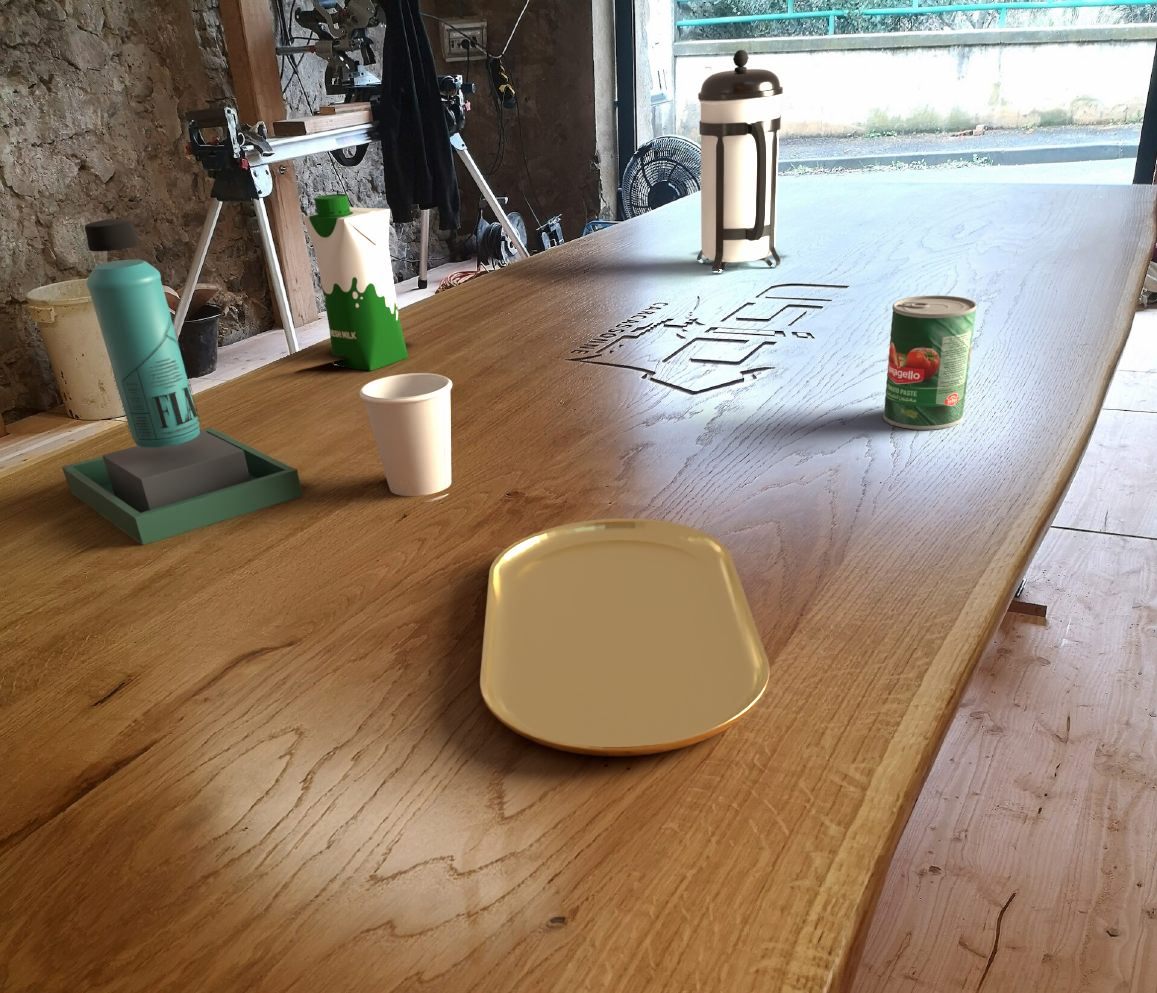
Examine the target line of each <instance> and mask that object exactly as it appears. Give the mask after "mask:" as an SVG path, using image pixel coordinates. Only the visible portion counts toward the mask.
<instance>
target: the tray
mask: <svg viewBox="0 0 1157 993" xmlns="http://www.w3.org/2000/svg"><path fill="white" fill-rule="evenodd" d="M202 430H203V431H205V432H207V433H209V434H211V435H213V436H215V437H217V438H219V439H221V440H223V441H225V442H227V443H229V444H231V445H233V446H235V447H237V448H239V449H241V450H243V451H244V455H245V460H246V464H247V468H248V472H249V476H250V481H247V482H244V483H241V484H237V485H234V486H230V487H227V488H224V489H220V490H217V491H214V492H210V493H207V494H203V495H200V496H197V497H193V498H190V499H186V500H183V501H180V502H176V503H173V504H169V505H166V506H163V507H159V508H156V509H152V510H149V511H146V512H142V513H140V512H139V511H137V510H136V509H134V508H133V507H131V506H130V505H129V504H127V503H126V502H124V501H123V500H121V499H120V498H118V497H117V496H115V495H114V491H113V488H112V485H111V482H110V479H109V475H108V472H107V469H106V466H105V462H104V459H103V456H102V455H101V456H98V457H94V458H90V459H87V460H83V461H79V462H75V463H71V464H68V465H64V466H61V469H62V472H63V475H64V479H65V480H66V484H67V488H68V489H69V491H70V493H71V494H72V495H73V496H75V497H76V498H78V499H79V500H81V501H82V502H83V503H84V504H86V505H87V506H88V507H90V508H92V509H93V510H94V511H96V513H98V514H99V515H101V516H103V517H104V518H105V519H107V520H108V521H109V522H111V523H112V524H113V525H114V526H116V527H117V528H119V529H120V530H122V532H124V533H126V535H128V536H129V537H131V538H132V539H134V540H135V541H136V542H138V543H139V544H141V545H142V546H145V545H149V544H153V543H156V542H159V541H162V540H165V539H169V538H171V537H175V536H179V535H181V534H184V533H188V532H191V531H195V530H197V529H201V528H204V527H207V526H211V525H214V524H216V523H220V522H223V521H226V520H227V521H228V520H230V519H233V518H236V517H239V516H243V515H246V514H249V513H252V512H257V511H259V510H262V509H267V508H270V507H272V506H275V505H279V504H282V503H285V502H288V501H292V500H294V499H298V498H301V497H303V491H302V487H301V482H300V478H299V473H298V472H299V471H298V470H297V469H296V468H294V467H292V466H290V465H288V464H286V463H284V462H282V461H279V460H277V459H275V458H274V457H272V456H270V455H268V454H265V453H264V452H261V451H259V450H257V449H255V448H253V447H251V446H249V445H247V444H245V443H243V442H242V441H239V440H237V439H235V438H233V437H231V436H229V435H227V434H225V433H222V432H221V431H219V430H217V429H215V428H213V427H207V428H204V429H202Z"/></svg>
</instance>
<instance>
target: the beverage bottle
mask: <svg viewBox="0 0 1157 993" xmlns="http://www.w3.org/2000/svg"><path fill="white" fill-rule="evenodd" d="M84 232H85V236H86V241H87V248H88V251H90V252H112V251H120V250H125V249H130V248H134V247H137V246H139V245H140V242H139V238H138V236H137V234H136V230H135V227H134V224H133V222H132V220H131V219H129V218H107V219H100V220H97V221H93V222H88V223H86V224H85V225H84ZM161 278H162V276H161V273H160V271H159V270H158V269H157V268H155V267H154V266H153V265H151V264H150V263H149V262H147V261H145V260H144V259H121V260H114V261H107V262H103V263H100V264H97V265H95V266H94V268H93V269H92V270H91V272H90V274H89V275H88V277H87V279H86V282H85V285H86V287H87V289H88V292H89V295H90V299H91V302H92V305H93V308H94V312H95V315H96V318H97V322H98V325H99V328H100V332H101V335H102V339H103V341H104V345H105V348H106V352H107V356H108V358H109V362H110V369H111V370H110V372H111V374H112V373H113V378H114V379H113V383H114V385H115V389H116V392H118V396H119V397H118V399H119V402H121V404H122V405H121V408H122V412H124V413H123V416H124V419H126V422H125V423H126V425H127V431H129V432H128V433H129V435H131V438H132V440H133V441H134V443H135V445H136V446H141V447H149V448H155V447H166V446H172V445H177V444H181V443H184V442H187V441H190V440H192V439H194V438H196V437H197V436H198V435H199V434H200V429H201V425H202V423H201V421H200V416H199V413H198V407H197V404H196V402H195V401H196V400H195V398H194V396H193V394H194V392H193V388H192V385H191V381H190V380H188V371H187V366H186V364H185V361H184V360H183V357H182V353H181V351H182V348H180V342H179V340H178V339H179V336H178V333H177V330H176V329H175V326H176V323H175V319H174V316H173V314H172V311H170V307H169V303H168V299H167V298H166V294H165V290H164V287H163V283H162V279H161Z"/></svg>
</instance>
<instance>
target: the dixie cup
mask: <svg viewBox="0 0 1157 993" xmlns="http://www.w3.org/2000/svg"><path fill="white" fill-rule="evenodd" d="M452 387H453V382H452V380H451V379H450V378H448V377H446V376H444V375H441V374H438V373H428V372H413V373H401V374H395V375H389V376H384V377H381V378H378V379H375V380H372V381H369V382H368V383H366V384H364V385H363V386H362V387H361V389H360V390H359V394H358V395H359V397H360V398H361V399H362V401H363V403H364V406H365V410H366V413H367V417H368V420H369V424H370V427H371V430H372V434H373V437H374V440H375V444H376V447H377V450H378V454H379V458H380V461H381V464H382V468H383V471H384V474H385V478H386V481H387V485H388V489H389V491H390V492H391V493H392V494H394V495H397V496H401V497H421V496H428V495H432V494H436V493H438V492H442V491H444V490H446V489H448V488H449V487H450V486H451V484H452V442H451V441H452V438H451V435H452V434H451V432H452V431H451V430H452V428H451V427H452V426H451V425H452V424H451V390H452V389H453V388H452ZM448 495H449V493H446V494H444V495H440V496H436V497H433V498H431V499H427V500H425V501H422V502H421V504H425V503H430V502H434V501H438V500H440V499H443V498H445V497H447V496H448Z"/></svg>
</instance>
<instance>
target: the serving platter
mask: <svg viewBox="0 0 1157 993" xmlns="http://www.w3.org/2000/svg"><path fill="white" fill-rule="evenodd" d="M730 552H731V551H730V550H729V548H727V546H726V545H725V544H724V543H722V541H720V540H718V538H716V537H714V536H713V535H712V534H709V533H707V532H705V531H702V530H699V529H697V528H694V527H691V526H688V525H684V524H680V523H676V522H671V521H666V520H658V519H649V518H633V517H631V518H630V517H627V518H625V517H623V518H621V517H620V518H600V519H592V520H590V519H589V520H583V521H575V522H571V523H566V524H561V525H557V526H554V527H551V528H547V529H544V530H541V531H537V532H535V533H533V534H530V535H528V536H526V537H524V538H522V539H520V540H517V541H516V542H514V543H512V544H511V545H510V546H508V547H507V548H505V549H504V550H503V551H501V553H499V554H498V556H496V558H495V559H494V561H493V562H492V564H491V565H490V567H489V568H490V569H489V571H488V572H489V573H488V581H487V582H488V583H487V593H486V603H485V604H486V605H485V606H486V607H485V617H484V628H483V639H482V651H481V661H480V662H481V663H480V673H479V690H480V694H481V697H482V700H483V703H484V704H485V705H486V707H487V708H488V710H489V711H490V713H492V715H493V716H494V717H495V718H496V719H497V720H498V721H500V723H502V724H503V725H504V726H505V727H507V728H508V729H510V730H511V731H513V732H514V733H516V734H517V735H519V736H521V737H523V738H525V739H526V740H529V741H532V742H535V743H536V744H538V745H541V746H545V747H548V748H551V749H555V750H558V751H562V752H567V753H572V754H578V755H587V756H596V757H633V756H634V757H635V756H644V755H651V754H659V753H664V752H669V751H674V750H677V749H681V748H682V749H683V748H685V747H688V746H689V747H690V746H692V745H695V744H697V743H700V742H703V741H705V740H707V739H710V738H712V737H714V736H716V735H718V734H720V733H722V732H724V731H726V730H727V729H729V728H731V727H732V726H734V725H735V724H737V723H738V722H740V721H741V720H742V719H743V718H744V717H745V716H746V715H748V714H749V713H750V712H751V711H752V710H753V709H754V708H755V707H756V705H757V704H758V703H759V701H760V700H761V699H762V698H763V696H764V694H765V692H766V690H767V687H768V685H769V681H770V673H771V672H770V668H771V667H770V664H769V659H768V656H767V653H766V651H765V647H764V645H763V643H762V642H763V641H762V639H761V637H760V633H759V631H758V628H757V625H756V622H755V620H754V617H753V616H754V615H753V613H752V610H751V608H750V604H749V602H748V599H747V597H746V593H745V590H744V587H743V585H742V582H741V579H740V576H739V573H738V571H737V568H736V564H735V562H734V560H733V556H732V554H731V553H730Z"/></svg>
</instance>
